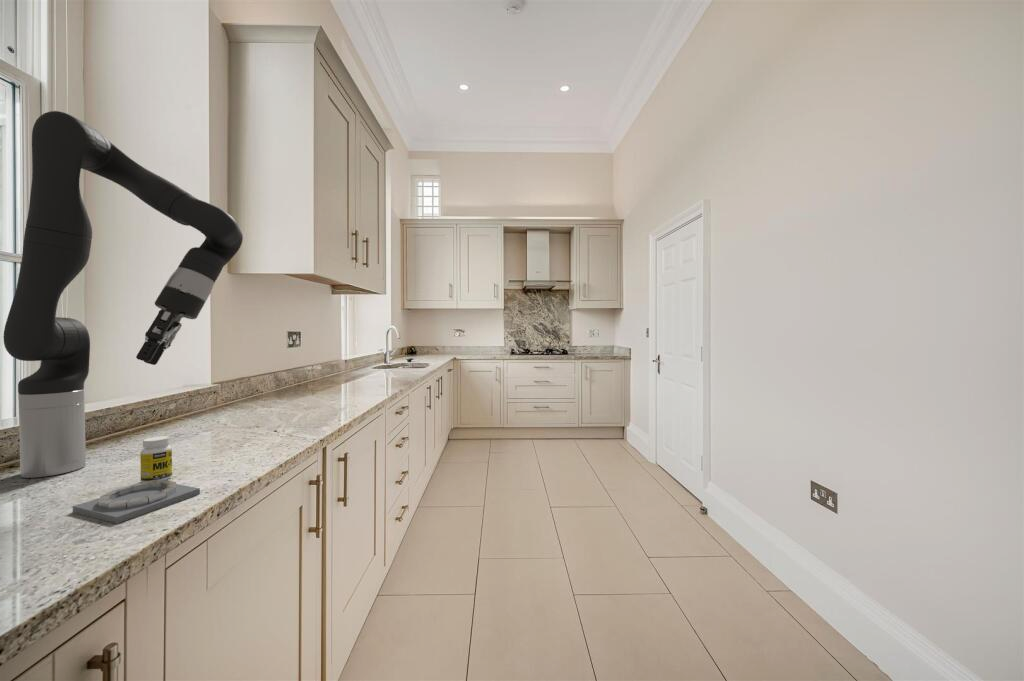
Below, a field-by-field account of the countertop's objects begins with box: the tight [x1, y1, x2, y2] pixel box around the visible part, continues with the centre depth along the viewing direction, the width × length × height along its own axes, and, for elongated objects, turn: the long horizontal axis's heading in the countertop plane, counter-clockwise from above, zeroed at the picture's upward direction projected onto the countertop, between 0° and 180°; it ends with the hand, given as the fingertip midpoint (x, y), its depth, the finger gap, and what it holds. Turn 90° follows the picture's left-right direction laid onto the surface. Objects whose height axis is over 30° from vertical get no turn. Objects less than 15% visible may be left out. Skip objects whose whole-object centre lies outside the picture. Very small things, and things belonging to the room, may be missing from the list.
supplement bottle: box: [139, 435, 173, 483], centre depth 80 cm, size 5×5×8 cm
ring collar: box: [98, 479, 177, 510], centre depth 69 cm, size 10×10×1 cm
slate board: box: [72, 483, 201, 524], centre depth 69 cm, size 12×12×1 cm
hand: (145, 362), depth 81 cm, fingers open, 8 cm apart
